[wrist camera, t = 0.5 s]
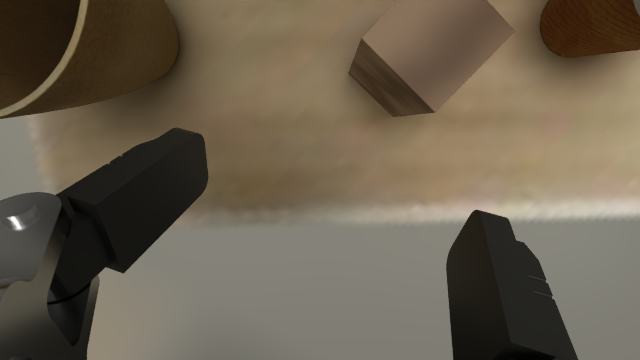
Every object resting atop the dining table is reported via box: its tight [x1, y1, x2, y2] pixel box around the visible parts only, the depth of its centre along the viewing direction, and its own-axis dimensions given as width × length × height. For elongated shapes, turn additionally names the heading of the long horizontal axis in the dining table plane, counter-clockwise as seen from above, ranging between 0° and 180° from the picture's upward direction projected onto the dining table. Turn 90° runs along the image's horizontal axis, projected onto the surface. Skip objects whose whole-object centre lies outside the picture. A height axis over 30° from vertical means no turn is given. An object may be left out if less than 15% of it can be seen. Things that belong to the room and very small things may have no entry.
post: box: [349, 0, 515, 117], centre depth 23 cm, size 6×6×12 cm
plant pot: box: [0, 0, 179, 119], centre depth 21 cm, size 15×15×16 cm
